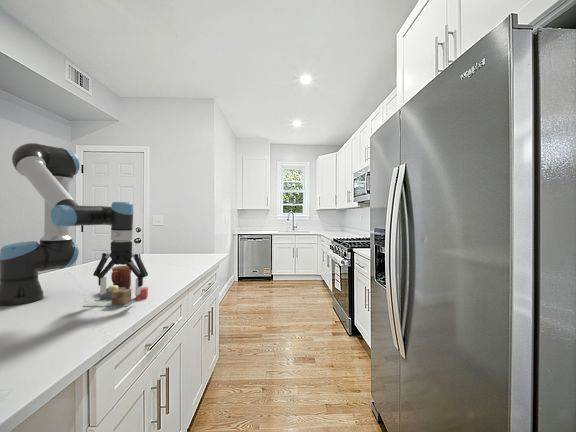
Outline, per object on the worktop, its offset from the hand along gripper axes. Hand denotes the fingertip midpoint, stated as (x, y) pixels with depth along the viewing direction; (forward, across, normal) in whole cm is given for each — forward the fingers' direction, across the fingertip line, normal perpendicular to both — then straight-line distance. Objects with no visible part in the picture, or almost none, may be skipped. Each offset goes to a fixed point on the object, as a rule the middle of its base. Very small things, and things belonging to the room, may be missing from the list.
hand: (120, 294), depth 120 cm
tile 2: (+4, 0, 0) cm, 4 cm away
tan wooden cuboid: (+3, +1, 0) cm, 3 cm away
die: (+4, +4, +9) cm, 11 cm away
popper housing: (+4, -8, +9) cm, 12 cm away
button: (+3, -7, +9) cm, 12 cm away
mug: (+4, -12, +22) cm, 25 cm away
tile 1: (+4, -8, 0) cm, 9 cm away
